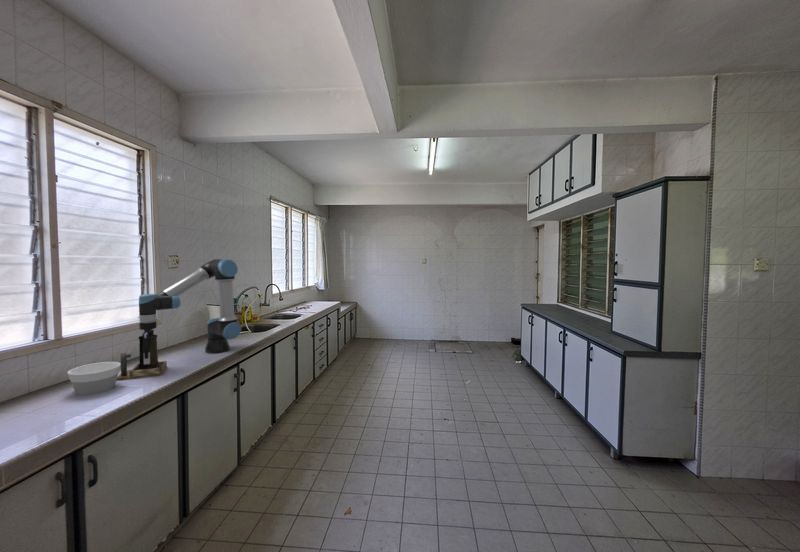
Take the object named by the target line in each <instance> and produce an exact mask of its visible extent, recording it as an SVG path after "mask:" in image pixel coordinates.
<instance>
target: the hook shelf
mask: <svg viewBox="0 0 800 552" xmlns="http://www.w3.org/2000/svg"><path fill="white" fill-rule="evenodd" d="M128 358H132V354H127V352H123V353H120V363H121V366H120V374H118V376H117V380H116V382H117V381H125V380H132V379H134V380H135V379H141V378H149V377H157V376H158V377H159V376H162V375H163V374H164V373H165V371H166V369H167V367H168V366H167V362H168V361H167V360H162V361H159V362H158V363H159V366H158V367H156V368H153V369H144V370H140V369H139V363H136V364H135V365H134V366H133V368H132V369H128V365H127V363H128V362H127V360H128Z"/></svg>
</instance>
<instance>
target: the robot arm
mask: <svg viewBox="0 0 800 552" xmlns="http://www.w3.org/2000/svg"><path fill="white" fill-rule="evenodd" d="M238 268H239V267H238V266H237V263H236V262H235V261H233V260H231V259H227V258H221V259H220V258H216V259H212V260H209V261H208V262H205V264H202V265H201V266H199V267H198V269H197V270H196V271H194V272H193V273H192V272H191V273H190V274H189V275H187V276H186V277H183V278H182V279H180V280H179V281H176V283H174V284H172V285H169V287H167V288H165V289H163V290H162V291H160V292H159V293H155V294H154V293H145V294H144V293H143V294H140V295H139V297H138V313H139V316H137V318H138V319H139V320H138V321H139V324H138V325H139V326H138V327H139V330H140V331H144V332H142V335H141V336H143V350H142V353H144V364H150V352H149V349H150V341H149V337H151V336H152V335H155V331H154V330H155V329H157V311H161V310H162V311H163V310H174V309H178V308H180V306H181V299H180V297H179V296H181V295H183V294H184V293H185V292H188V291H189V290H191V289H192V288H193V287H195V286H197V285H199V284H200V283H202V282H203V281H205V280H210V279H212V278H214V280H215V281H216V282H217V287H218V289H217V290H218V301H219V303H218V304H219V315H220V316H219V317H216V318H209V319H208V320H207V324H206V326H207V342H206V345H205V349H204V352H205V353H206V354H217V353H218V354H219V353H226V352H228V351H229V350H231V349H230V343H229V341H228V340H234V339H235V338H237V337H238V336H239V335H240V334H241V332H242V326H241V324H240V323H239V322H238V317H237V316H235V301H234V288H233V287H234V286H233V285H234V284H233V282H234V281H235V279H236V274H237V273H238Z"/></svg>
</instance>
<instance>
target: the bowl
mask: <svg viewBox="0 0 800 552" xmlns="http://www.w3.org/2000/svg"><path fill="white" fill-rule="evenodd" d="M120 371H121V362H119V361H101V362H96V363H95V362H94V363H87V364H84V365H81V366H77V367H76V366H75V367H74V368H72V369H70V370H68V371H67V376H68V378H69V381H70V382H71V385H72V388H73V389H74V392H75V395H79V396H81V395H82V396H85V395H86V396H87V395H95V394H98V393H99V394H100V393H103V392H106V391H109V390H111V389H113V388H114V387H116V383H117V381H116V380H117V377H118V376H119V373H120Z"/></svg>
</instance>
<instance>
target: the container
mask: <svg viewBox="0 0 800 552" xmlns="http://www.w3.org/2000/svg"><path fill="white" fill-rule="evenodd" d="M157 339H158V335H157V334H154V335H152V336H151V337H149V341H150V349H149V352H150V364H144V353H142V350H143V336H142V335H140V336H138V341H139V344H138V347H139V348H138V349H139V363H138V364H139V369H140V370H144V369H153V368H156V367H158V366H159V363H158V362H160V361H159V360H158V359H159V356H158V341H157Z"/></svg>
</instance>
